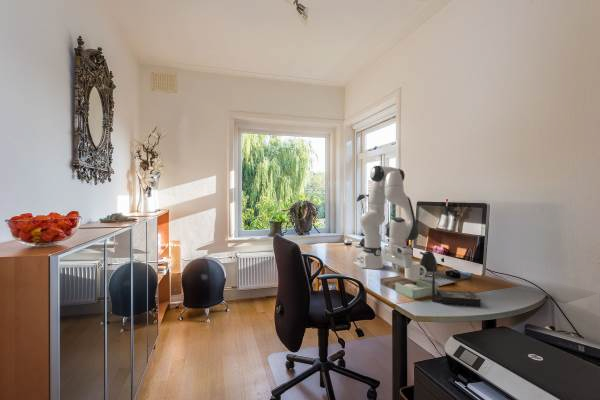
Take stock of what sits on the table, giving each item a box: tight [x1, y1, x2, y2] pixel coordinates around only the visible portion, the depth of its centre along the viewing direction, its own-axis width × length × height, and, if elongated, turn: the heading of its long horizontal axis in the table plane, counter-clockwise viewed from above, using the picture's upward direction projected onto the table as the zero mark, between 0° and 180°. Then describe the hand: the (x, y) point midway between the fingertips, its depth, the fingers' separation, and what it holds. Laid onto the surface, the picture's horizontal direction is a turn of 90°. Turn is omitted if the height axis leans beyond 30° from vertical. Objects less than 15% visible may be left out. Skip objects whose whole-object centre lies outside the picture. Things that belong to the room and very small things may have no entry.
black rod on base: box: [431, 267, 482, 308], centre depth 138 cm, size 20×14×17 cm
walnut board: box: [379, 275, 417, 291], centre depth 161 cm, size 13×14×3 cm
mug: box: [404, 260, 426, 282], centre depth 171 cm, size 12×8×10 cm
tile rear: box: [404, 284, 418, 289], centre depth 152 cm, size 5×5×2 cm
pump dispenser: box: [419, 250, 438, 276], centre depth 181 cm, size 10×10×15 cm
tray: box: [394, 279, 438, 301], centre depth 149 cm, size 12×16×5 cm
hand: (395, 271), depth 160 cm, fingers closed
